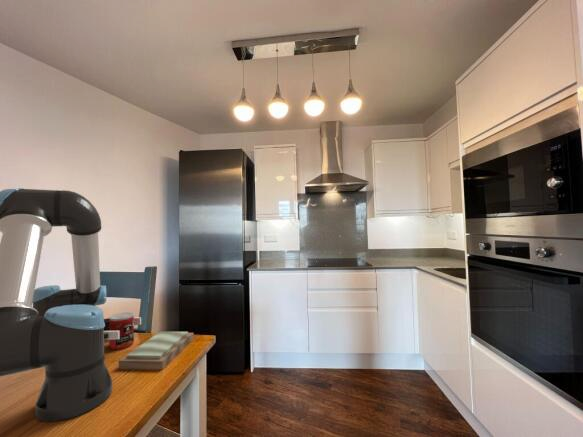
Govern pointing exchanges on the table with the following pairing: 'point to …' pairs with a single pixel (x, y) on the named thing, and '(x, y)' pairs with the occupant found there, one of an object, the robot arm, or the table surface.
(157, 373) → the table surface
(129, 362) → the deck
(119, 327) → the canned food
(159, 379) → the table surface
